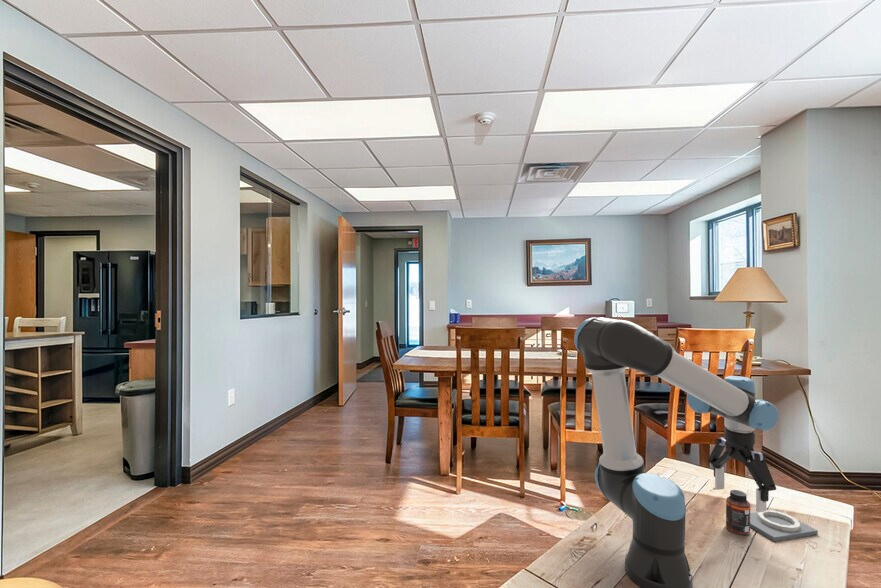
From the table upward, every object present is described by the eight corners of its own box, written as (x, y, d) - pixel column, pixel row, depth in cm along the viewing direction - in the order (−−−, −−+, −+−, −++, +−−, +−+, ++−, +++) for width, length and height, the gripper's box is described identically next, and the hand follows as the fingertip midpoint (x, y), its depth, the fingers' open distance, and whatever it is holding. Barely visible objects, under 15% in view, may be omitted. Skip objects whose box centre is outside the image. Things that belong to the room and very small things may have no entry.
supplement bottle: (754, 537, 123) (754, 498, 123) (731, 534, 125) (731, 496, 124) (743, 525, 129) (744, 489, 129) (722, 523, 130) (722, 487, 130)
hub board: (774, 541, 121) (774, 533, 121) (736, 519, 133) (736, 511, 133) (817, 534, 125) (817, 526, 125) (777, 513, 136) (777, 505, 136)
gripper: (792, 442, 115) (792, 520, 115) (714, 415, 139) (714, 479, 140) (770, 445, 113) (770, 523, 114) (695, 417, 138) (695, 482, 138)
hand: (739, 499), depth 127 cm, fingers open, 13 cm apart
